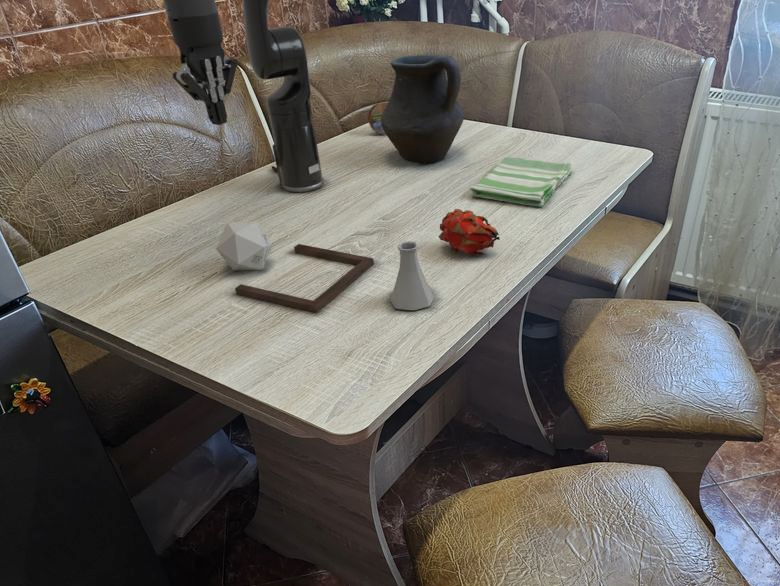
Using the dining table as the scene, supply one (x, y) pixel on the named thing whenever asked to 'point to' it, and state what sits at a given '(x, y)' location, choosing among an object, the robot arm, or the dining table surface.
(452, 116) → the pitcher
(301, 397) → the dining table surface
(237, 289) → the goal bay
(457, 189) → the dining table surface
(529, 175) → the dish towel
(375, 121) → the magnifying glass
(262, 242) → the die
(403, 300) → the flask
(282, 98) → the robot arm
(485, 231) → the dragon fruit
